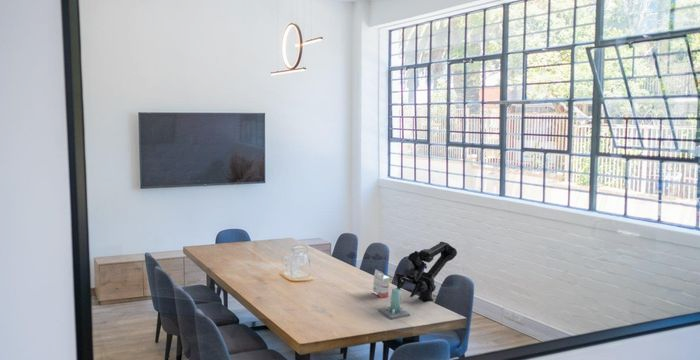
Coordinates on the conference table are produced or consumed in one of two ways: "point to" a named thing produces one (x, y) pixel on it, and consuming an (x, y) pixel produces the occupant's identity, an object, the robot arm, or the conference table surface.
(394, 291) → the rounded cone
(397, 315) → the pin board
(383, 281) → the ink cartridge box
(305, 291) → the conference table surface
